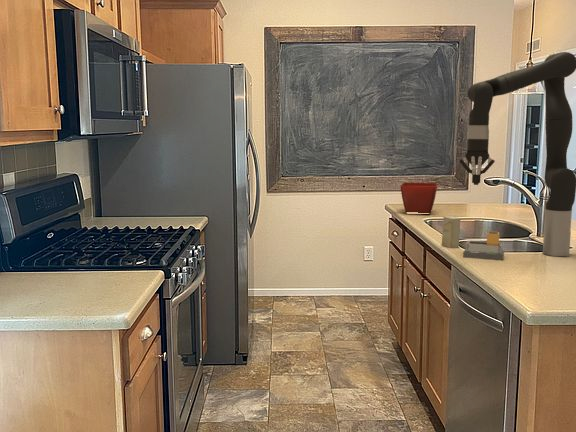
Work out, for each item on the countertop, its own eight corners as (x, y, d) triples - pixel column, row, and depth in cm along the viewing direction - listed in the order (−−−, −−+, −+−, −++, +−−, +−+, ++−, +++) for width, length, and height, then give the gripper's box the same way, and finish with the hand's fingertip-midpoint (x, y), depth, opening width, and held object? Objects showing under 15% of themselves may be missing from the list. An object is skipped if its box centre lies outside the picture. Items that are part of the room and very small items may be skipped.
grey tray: (504, 255, 229) (504, 242, 228) (502, 260, 221) (503, 246, 220) (466, 252, 234) (466, 240, 234) (463, 257, 226) (463, 244, 225)
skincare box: (441, 245, 249) (442, 216, 247) (450, 244, 250) (451, 215, 249) (450, 248, 243) (451, 218, 241) (459, 247, 245) (461, 217, 243)
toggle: (498, 250, 227) (499, 231, 226) (497, 252, 224) (498, 233, 222) (487, 249, 229) (488, 230, 228) (486, 251, 225) (487, 232, 224)
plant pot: (399, 215, 336) (400, 185, 334) (403, 210, 354) (404, 182, 352) (434, 216, 331) (435, 186, 328) (436, 212, 349) (437, 183, 346)
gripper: (497, 137, 224) (495, 184, 226) (460, 137, 229) (459, 183, 231) (496, 138, 217) (493, 186, 219) (458, 137, 222) (456, 184, 224)
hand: (475, 184), depth 225 cm, fingers closed
